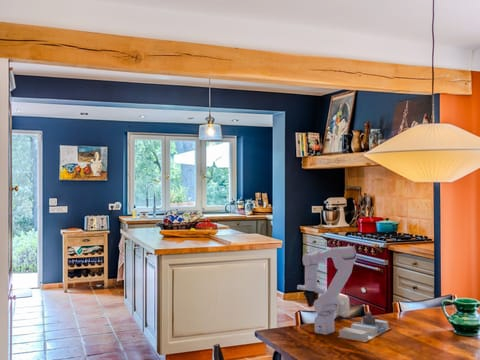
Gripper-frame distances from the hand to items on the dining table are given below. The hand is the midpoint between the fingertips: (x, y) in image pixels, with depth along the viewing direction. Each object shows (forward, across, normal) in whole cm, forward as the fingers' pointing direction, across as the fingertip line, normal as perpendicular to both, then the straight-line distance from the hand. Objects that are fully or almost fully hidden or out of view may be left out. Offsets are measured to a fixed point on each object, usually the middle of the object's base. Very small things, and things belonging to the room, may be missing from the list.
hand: (310, 306), depth 232 cm
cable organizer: (+10, +1, -23) cm, 25 cm away
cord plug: (+7, -26, -8) cm, 29 cm away
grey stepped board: (+8, -27, -4) cm, 28 cm away
